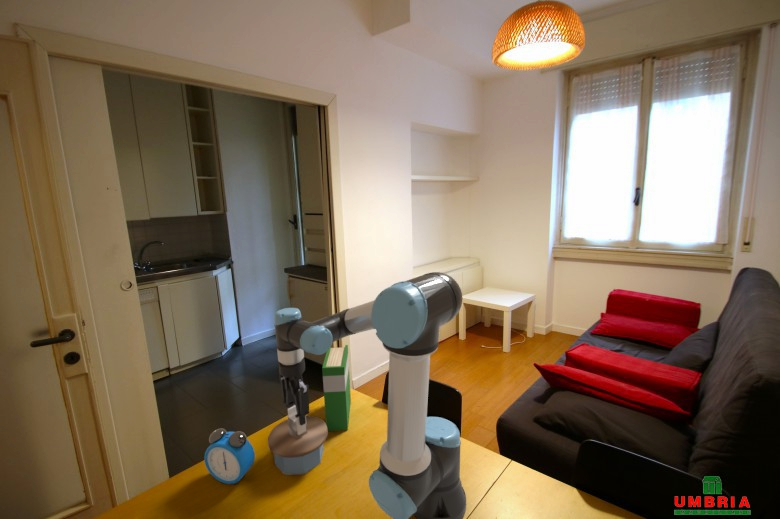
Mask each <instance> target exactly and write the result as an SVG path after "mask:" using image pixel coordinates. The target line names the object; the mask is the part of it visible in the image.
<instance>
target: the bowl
mask: <svg viewBox="0 0 780 519" xmlns="http://www.w3.org/2000/svg"><path fill="white" fill-rule="evenodd" d="M323 455H324V443H323V444H322V445H321V446H320V447H319V448H318V449H317V450H315V451H313V452H312V453H309V454H307V455H304V456H300V457H294V458H286V457H280V456H278V455H276V454H274V453H273V457H274V465H275V466H276V468H278V470H280V472H282V474H283V475H284V476H288V475H289V476H290V475H306V474H307V473H308V472H310V471H311V470H313V469H315V468H316V467H317V466H319V465H321V464H322V459H323Z"/></svg>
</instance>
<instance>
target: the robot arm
mask: <svg viewBox="0 0 780 519" xmlns="http://www.w3.org/2000/svg"><path fill="white" fill-rule="evenodd" d="M462 304H463V292H462V289H461V287H460V285H459V283H458V282H457V281H456V279H455V278H453V277H452V276H450V275H449V274H447V273H444V272H440V271H439V272H437V271H432V272H428V273H427V272H426V273H425V274H422V275H420V276H417V277H414V278H411V279H407V280H403V281H399V282H396V283H394V284H391V285H390V286H388V287H387V288H384V289H382V291H381V292H380V293H378V295H377V296H376V298H375V299H374V300H371V301H369V302H366V303H362V304H358V305H357V306H353V307H350V308H349V307H348V308H346V309H343V310H342V311H339V312H336V313H333V314H331V315H327V316H325V317H322V318H319V319H316V320H314V321H307V320H304V319H302V313H301V310H300V309H299V308H297V307H285V308H282V309H279V310H277V311H276V312H275V313H274V331H275V339H276V351H277V353H276V354H277V361H278V371H279V372H278V378H279V382H280V390H281V397H282V398H281V400H282V403H283V404H285V407H286V409H287V417H288V416H290V415H292V414H293V413H295V412H297V415H295V417H296V425H297V434H298V435H300V434H302V433H304V432H305V431H306V421H305V416H308V414H310V400H309V399H310V398H309V391H310V384H305V383H304V379H303V374H304V372H305V371H306V362H305V361H306V360H305V352H306V353H308V354H313V355H316V356H320V355H323V354H326V353H327V350H328V349H329V348H330V347H331V348H332V344H333V343H334V342H336V341H339V340H341V339H344V338H346V337H348V336H351V335H352V336H353V335H356V334H358V333H359V334H360V333H363V332H367V331H371V330H375V331H376V332H375V335H376V337H377V338H378V340H379V341H380V342H381V343H382V347H383V348H384V349H385V350H386V351H387V352H388V353H389V357H388V360H389V361H388V388H387V390H388V395H387V426H386V429H387V430H386V441H385V442H383V444H382V445H381V447H380V451H379V466H378V467H377V469H374V470H373V471H372V473H371V474H370V476H369V479H368V487H369V490H370V492H371V495H372V498H373V500H374V501H375V502H376V504H377V505H378V507H379V508H380V509H381V510H382V511H383V512H384V513H385V514H386V515H388V516H389V517H390V518H392V519H410V517H412V516H413V515H414V516H415V518H416V519H462V518H463V517H464V516H465V514H466V510H467V494H466V491H465V489H464V486H463V485H462V481H461V477H460V473H461V445H462V441H461V433H460V430H459V428H458V427H457V425H456V424H455V423H454V422H452V421H450V420H448V419H446V418H444V417H439V416H428V404H429V403H428V399H429V398H428V397H429V386H430V385H429V384H430V369H431V368H430V366H431V365H430V364H431V355H433V354H434V353H435V352H436V351H437V350H438V348H439V342H440V341H439V339H440V329H441V327H442V326H444V325H447V324H448V323H449V322H451V321H452V320H453V319H455V318H456V316H457V315H458V314H459V312H460V310H462V309H461V308H462V306H463V305H462Z"/></svg>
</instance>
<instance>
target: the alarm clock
mask: <svg viewBox="0 0 780 519" xmlns="http://www.w3.org/2000/svg"><path fill="white" fill-rule="evenodd" d="M208 442H209V444H210V445H209V446H208V447H207V448H206V450H205V452H204V457H203V458H204V464H205V467H206V469H207V471H208V472H209V474H210V475H211V476H212V477H213V478H214V479H215V480H216V481H219V482H221V483H223V484H227V485H232V484H233V485H234V484H236V485H237V486H238V485H239V481H241V479H243V477H244V476H245V475H246V474H247V472H249V470H250V469H251V468H252V466H253V464H254V463H255V460H256V454H255V450H254V447H253V445H252V443H251V442H250V440H249V439H248V438H247V435H246V434H245V432H243V431H239V430H238V431H227V430H226V429H225V428H222V427H221V428H217V429H214V430H213V431H212V432H211V433H210V435H209V437H208Z"/></svg>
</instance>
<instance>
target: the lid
mask: <svg viewBox="0 0 780 519" xmlns="http://www.w3.org/2000/svg"><path fill="white" fill-rule="evenodd" d="M295 415H297V412H295V413H293V414H292V415H290V416H288V415H287V419H285V420H283V421H282V422H280V423H278V424H277V425H275V426H274V427H273V429H272V430H271V431H270V433H269V435H268V437H267V443H268V448H269V450H270V452H271V453H272V454H273V455H274V454H276V455H278V456H280V457H286V458H294V457H300V456H304V455H307V454H309V453H312V452H313V451H315V450H317V449H318V448H319V447H320V446H321V445H322V444H323V445H324V443H325V442H326V440H327V438H328V434H329V431H327V425H326V421H324V420H323V419H321V418H319V417H317V416H313V415H305V421H306V431H305V432H304V433H302V434H300V435H298V434H297V425H296V417H295Z"/></svg>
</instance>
